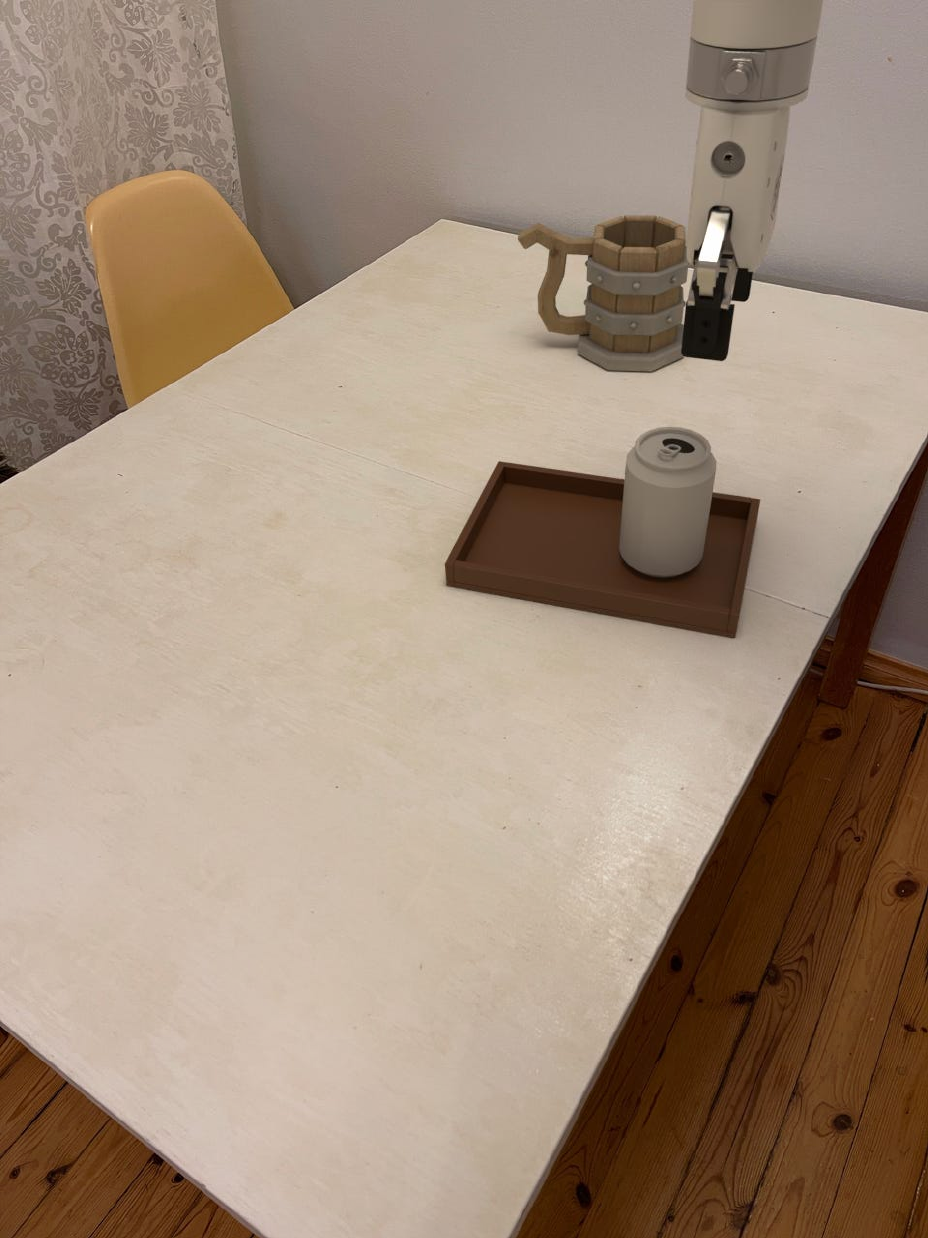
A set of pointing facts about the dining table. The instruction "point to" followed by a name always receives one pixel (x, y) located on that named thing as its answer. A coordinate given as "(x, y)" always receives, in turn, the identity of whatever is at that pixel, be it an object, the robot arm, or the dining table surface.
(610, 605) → the tray
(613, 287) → the tankard
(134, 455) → the dining table surface
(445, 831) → the dining table surface
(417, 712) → the dining table surface
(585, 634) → the dining table surface
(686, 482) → the can
